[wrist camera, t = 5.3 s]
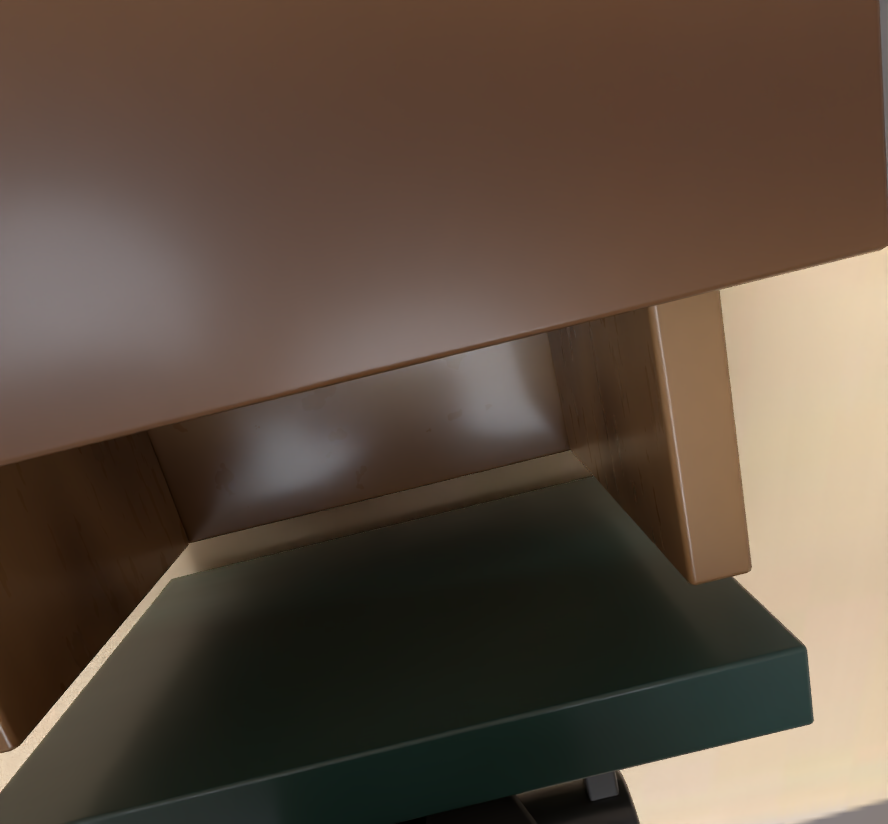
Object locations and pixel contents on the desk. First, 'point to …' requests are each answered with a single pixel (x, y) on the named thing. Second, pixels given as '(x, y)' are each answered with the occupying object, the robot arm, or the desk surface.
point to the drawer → (399, 596)
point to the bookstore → (885, 66)
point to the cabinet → (397, 184)
